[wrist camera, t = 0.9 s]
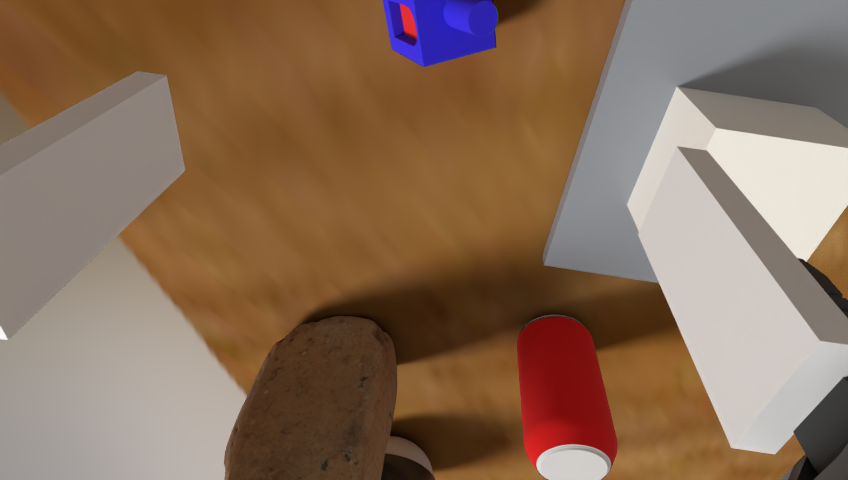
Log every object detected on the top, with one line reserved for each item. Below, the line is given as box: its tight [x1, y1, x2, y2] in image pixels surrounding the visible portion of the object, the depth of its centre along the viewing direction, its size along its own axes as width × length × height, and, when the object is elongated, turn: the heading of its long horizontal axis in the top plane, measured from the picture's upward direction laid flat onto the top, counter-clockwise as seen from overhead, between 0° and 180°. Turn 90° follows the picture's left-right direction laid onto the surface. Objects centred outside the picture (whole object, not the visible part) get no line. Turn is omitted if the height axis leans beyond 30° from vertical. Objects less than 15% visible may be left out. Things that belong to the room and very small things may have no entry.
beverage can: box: [517, 315, 617, 480], centre depth 38 cm, size 6×6×12 cm
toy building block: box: [383, 0, 498, 67], centre depth 26 cm, size 4×4×8 cm
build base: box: [542, 0, 848, 283], centre depth 29 cm, size 20×16×7 cm
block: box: [224, 316, 397, 480], centre depth 37 cm, size 11×8×20 cm
